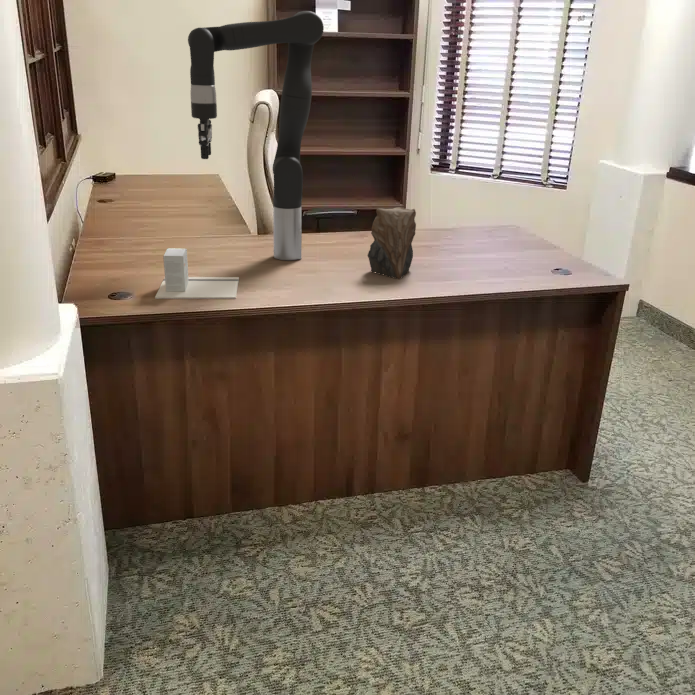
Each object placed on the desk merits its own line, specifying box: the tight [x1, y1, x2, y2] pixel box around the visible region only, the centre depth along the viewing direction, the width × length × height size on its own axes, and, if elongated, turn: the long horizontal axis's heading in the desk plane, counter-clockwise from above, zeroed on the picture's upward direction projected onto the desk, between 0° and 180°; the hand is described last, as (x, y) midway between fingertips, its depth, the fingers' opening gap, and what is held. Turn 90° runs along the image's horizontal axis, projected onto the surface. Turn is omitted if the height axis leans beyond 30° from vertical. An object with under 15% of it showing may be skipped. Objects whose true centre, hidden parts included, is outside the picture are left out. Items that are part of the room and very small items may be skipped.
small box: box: [162, 247, 189, 291], centre depth 195 cm, size 8×6×10 cm
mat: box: [154, 276, 240, 300], centre depth 198 cm, size 22×18×1 cm
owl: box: [367, 206, 417, 280], centre depth 217 cm, size 13×13×20 cm
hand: (206, 156), depth 211 cm, fingers open, 8 cm apart
